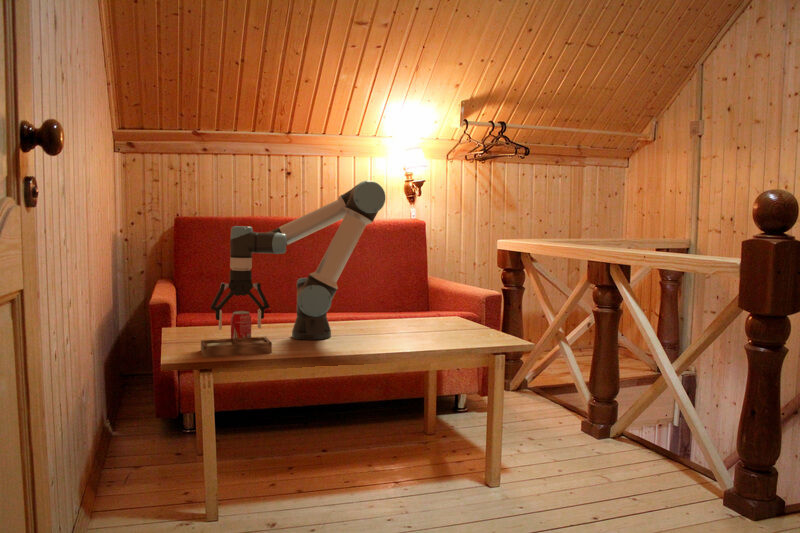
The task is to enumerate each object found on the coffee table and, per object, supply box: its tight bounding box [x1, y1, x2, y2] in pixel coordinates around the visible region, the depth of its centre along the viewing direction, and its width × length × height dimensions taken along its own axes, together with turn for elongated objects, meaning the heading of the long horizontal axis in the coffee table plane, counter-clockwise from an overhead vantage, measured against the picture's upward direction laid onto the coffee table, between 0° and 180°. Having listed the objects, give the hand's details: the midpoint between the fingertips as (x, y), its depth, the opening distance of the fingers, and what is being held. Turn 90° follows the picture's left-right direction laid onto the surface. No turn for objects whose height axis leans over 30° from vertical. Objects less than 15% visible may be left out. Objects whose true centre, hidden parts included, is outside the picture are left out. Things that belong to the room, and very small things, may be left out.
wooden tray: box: [200, 336, 273, 358], centre depth 193 cm, size 22×11×4 cm, turn 113°
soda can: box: [230, 310, 252, 339], centre depth 203 cm, size 7×7×12 cm
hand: (239, 328), depth 203 cm, fingers open, 13 cm apart
